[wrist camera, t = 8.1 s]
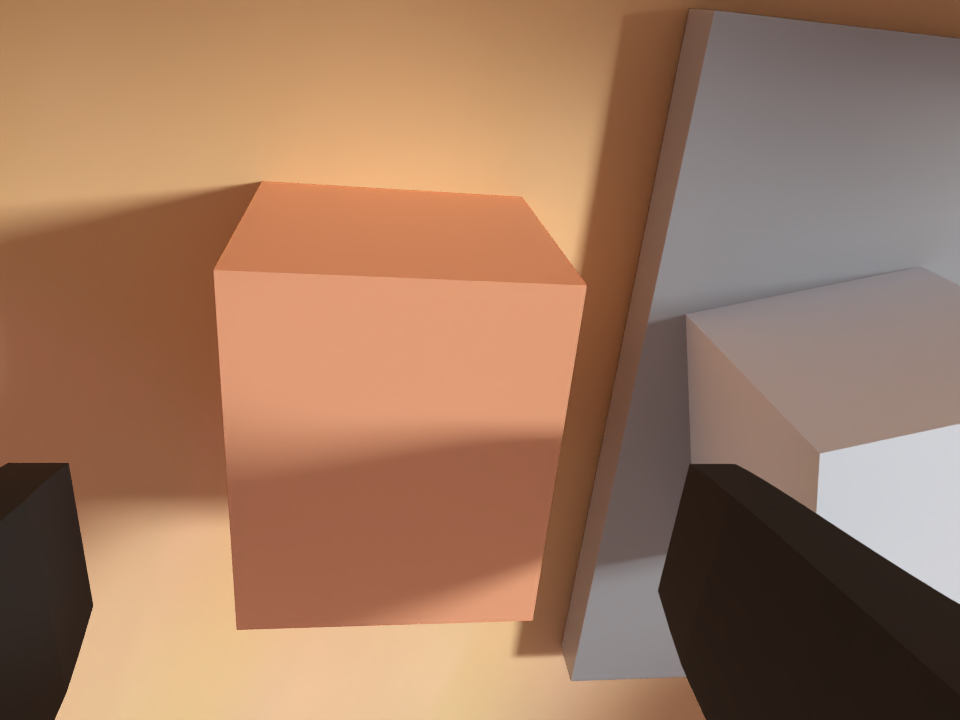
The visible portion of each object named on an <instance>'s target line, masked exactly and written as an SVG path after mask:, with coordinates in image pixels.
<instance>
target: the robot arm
mask: <svg viewBox="0 0 960 720" xmlns="http://www.w3.org/2000/svg"><path fill="white" fill-rule="evenodd" d="M658 593H659V596H660V600H661V603H662V606H663V610H664V613H665V616H666V620H667V623H668V626H669V630H670V633H671V636H672V639H673V642H674V645H675V648H676V651H677V654H678V657H679V660H680V663H681V665H682V668H683V670H684V672H685V675H686V677H687V679H688V681H689V683H690V686H691V688H692V690H693V692H694V694H695V697H696V699H697V701H698V703H699V705H700V707H701V710H702V712H703V714H704V716H705V718H706V720H960V604H959V603H957V602H955V601H954V600H952V599H950V598H948V597H947V596H945V595H943V594H942V593H940V592H938V591H937V590H935V589H934V588H932V587H930V586H929V585H927V584H926V583H924V582H922V581H921V580H919V579H917V578H916V577H914V576H913V575H911V574H909V573H908V572H906V571H905V570H903V569H901V568H900V567H898V566H897V565H895V564H894V563H892V562H890V561H889V560H887V559H886V558H884V557H883V556H881V555H879V554H878V553H876V552H875V551H873V550H872V549H870V548H869V547H867V546H865V545H864V544H862V543H861V542H859V541H858V540H856V539H855V538H853V537H852V536H850V535H849V534H847V533H846V532H844V531H842V530H841V529H839V528H838V527H836V526H835V525H833V524H832V523H830V522H829V521H827V520H826V519H824V518H823V517H821V516H820V515H818V514H816V513H815V512H813V511H812V510H810V509H809V508H807V507H806V506H804V505H803V504H801V503H800V502H798V501H797V500H795V499H793V498H792V497H790V496H789V495H787V494H786V493H784V492H783V491H781V490H779V489H778V488H776V487H775V486H773V485H771V484H770V483H768V482H767V481H765V480H763V479H762V478H760V477H758V476H757V475H755V474H753V473H751V472H750V471H748V470H746V469H744V468H742V467H740V466H738V465H737V464H689V468H688V472H687V476H686V480H685V484H684V488H683V492H682V496H681V500H680V504H679V508H678V512H677V515H676V519H675V523H674V527H673V531H672V535H671V539H670V543H669V547H668V551H667V555H666V559H665V563H664V567H663V571H662V575H661V579H660V583H659V587H658ZM92 608H93V602H92V596H91V590H90V584H89V579H88V573H87V567H86V561H85V556H84V550H83V544H82V538H81V533H80V527H79V521H78V515H77V509H76V504H75V498H74V492H73V486H72V481H71V475H70V469H69V463H8V464H6V465H4V466H2V467H0V720H55V718H56V715H57V713H58V711H59V708H60V706H61V704H62V702H63V699H64V697H65V695H66V692H67V689H68V686H69V683H70V680H71V677H72V674H73V671H74V668H75V664H76V661H77V658H78V655H79V652H80V649H81V645H82V642H83V638H84V635H85V632H86V628H87V625H88V622H89V618H90V615H91V611H92Z"/></svg>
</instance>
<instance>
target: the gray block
mask: <svg viewBox="0 0 960 720" xmlns="http://www.w3.org/2000/svg"><path fill="white" fill-rule="evenodd" d="M920 266H922V267H924V268H926V269H928V270H929V271H931V272H933V273H935V274H937V275H939V276H941V277H943V278H945V279H947V280H949V281H951V282H953V283H955V284H957V285H959V286H960V38H951V37H943V36H934V35H925V34H917V33H908V32H899V31H891V30H882V29H873V28H865V27H856V26H847V25H839V24H830V23H821V22H813V21H804V20H795V19H787V18H778V17H769V16H761V15H752V14H743V13H735V12H726V11H717V10H705V9H690V8H689V12H688V17H687V22H686V27H685V32H684V37H683V42H682V47H681V52H680V57H679V62H678V67H677V72H676V77H675V82H674V87H673V92H672V97H671V102H670V107H669V112H668V117H667V122H666V127H665V132H664V137H663V142H662V147H661V152H660V157H659V162H658V167H657V172H656V177H655V182H654V187H653V192H652V197H651V202H650V207H649V212H648V217H647V222H646V227H645V232H644V237H643V242H642V247H641V252H640V257H639V262H638V267H637V272H636V277H635V282H634V287H633V292H632V297H631V302H630V307H629V312H628V317H627V321H626V326H625V331H624V336H623V341H622V346H621V351H620V356H619V361H618V366H617V371H616V376H615V381H614V386H613V391H612V396H611V401H610V406H609V411H608V416H607V421H606V426H605V431H604V436H603V441H602V446H601V451H600V456H599V461H598V466H597V471H596V476H595V481H594V486H593V491H592V496H591V501H590V506H589V511H588V516H587V521H586V526H585V531H584V536H583V541H582V546H581V551H580V556H579V561H578V566H577V571H576V576H575V581H574V586H573V591H572V596H571V601H570V606H569V611H568V616H567V621H566V626H565V630H564V635H563V640H562V645H561V648H562V652H563V655H564V659H565V662H566V665H567V669H568V672H569V676H570V679H571V681H587V680H615V679H642V678H670V677H686V675H685V672H684V670H683V668H682V665H681V663H680V660H679V657H678V654H677V651H676V648H675V645H674V642H673V639H672V636H671V633H670V630H669V626H668V623H667V620H666V616H665V613H664V610H663V606H662V603H661V600H660V596H659V593H658V587H659V583H660V579H661V575H662V571H663V567H664V563H665V559H666V555H667V551H668V547H669V543H670V539H671V535H672V531H673V527H674V523H675V519H676V515H677V512H678V508H679V504H680V500H681V496H682V492H683V488H684V484H685V480H686V476H687V472H688V468H689V464H691V444H690V417H689V389H688V362H687V335H686V314H690V313H695V312H700V311H704V310H709V309H714V308H719V307H724V306H729V305H734V304H739V303H744V302H749V301H754V300H758V299H763V298H768V297H773V296H778V295H783V294H788V293H793V292H798V291H803V290H808V289H812V288H817V287H822V286H827V285H832V284H837V283H842V282H847V281H852V280H857V279H862V278H866V277H871V276H876V275H881V274H886V273H891V272H896V271H901V270H906V269H911V268H915V267H920Z"/></svg>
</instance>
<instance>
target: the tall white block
mask: <svg viewBox="0 0 960 720" xmlns="http://www.w3.org/2000/svg"><path fill="white" fill-rule="evenodd" d="M686 335H687V362H688V389H689V417H690V444H691V464H737V465H738V466H740V467H742V468H744V469H746V470H748V471H750V472H751V473H753V474H755V475H757V476H758V477H760V478H762V479H763V480H765V481H767V482H768V483H770V484H771V485H773V486H775V487H776V488H778V489H779V490H781V491H783V492H784V493H786V494H787V495H789V496H790V497H792V498H793V499H795V500H797V501H798V502H800V503H801V504H803V505H804V506H806V507H807V508H809V509H810V510H812V511H813V512H815V513H816V514H818V515H820V516H821V517H823V518H824V519H826V520H827V521H829V522H830V523H832V524H833V525H835V526H836V527H838V528H839V529H841V530H842V531H844V532H846V533H847V534H849V535H850V536H852V537H853V538H855V539H856V540H858V541H859V542H861V543H862V544H864V545H865V546H867V547H869V548H870V549H872V550H873V551H875V552H876V553H878V554H879V555H881V556H883V557H884V558H886V559H887V560H889V561H890V562H892V563H894V564H895V565H897V566H898V567H900V568H901V569H903V570H905V571H906V572H908V573H909V574H911V575H913V576H914V577H916V578H917V579H919V580H921V581H922V582H924V583H926V584H927V585H929V586H930V587H932V588H934V589H935V590H937V591H938V592H940V593H942V594H943V595H945V596H947V597H948V598H950V599H952V600H954V601H955V602H957V603H959V604H960V286H959V285H957V284H955V283H953V282H951V281H949V280H947V279H945V278H943V277H941V276H939V275H937V274H935V273H933V272H931V271H929V270H928V269H926V268H924V267H922V266H920V267H915V268H911V269H906V270H901V271H896V272H891V273H886V274H881V275H876V276H871V277H866V278H862V279H857V280H852V281H847V282H842V283H837V284H832V285H827V286H822V287H817V288H812V289H808V290H803V291H798V292H793V293H788V294H783V295H778V296H773V297H768V298H763V299H758V300H754V301H749V302H744V303H739V304H734V305H729V306H724V307H719V308H714V309H709V310H704V311H700V312H695V313H690V314H686Z"/></svg>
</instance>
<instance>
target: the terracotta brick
mask: <svg viewBox="0 0 960 720" xmlns="http://www.w3.org/2000/svg"><path fill="white" fill-rule="evenodd" d="M213 273H214V288H215V303H216V319H217V334H218V349H219V365H220V380H221V396H222V411H223V426H224V442H225V457H226V472H227V488H228V503H229V519H230V534H231V549H232V565H233V580H234V595H235V611H236V626H237V630H246V629H278V628H309V627H341V626H373V625H405V624H437V623H469V622H501V621H533V615H534V609H535V603H536V597H537V591H538V585H539V578H540V572H541V566H542V560H543V554H544V548H545V541H546V535H547V529H548V523H549V517H550V511H551V504H552V498H553V492H554V486H555V480H556V474H557V467H558V461H559V455H560V449H561V443H562V437H563V430H564V424H565V418H566V412H567V406H568V400H569V394H570V387H571V381H572V375H573V369H574V363H575V357H576V350H577V344H578V338H579V332H580V326H581V320H582V313H583V307H584V301H585V295H586V289H587V285H586V283H585V282H584V281H583V279H582V278H581V277H580V275H579V274H578V273H577V271H576V270H575V268H574V267H573V266H572V264H571V263H570V262H569V260H568V259H567V257H566V256H565V255H564V253H563V252H562V251H561V249H560V248H559V247H558V245H557V244H556V242H555V241H554V240H553V238H552V237H551V236H550V234H549V233H548V232H547V230H546V229H545V227H544V226H543V225H542V223H541V222H540V221H539V219H538V218H537V217H536V215H535V214H534V212H533V211H532V210H531V208H530V207H529V206H528V204H527V203H526V202H525V200H524V199H523V197H515V196H498V195H482V194H465V193H449V192H432V191H415V190H399V189H382V188H366V187H349V186H333V185H316V184H299V183H283V182H266V181H262V182H261V184H260V186H259V188H258V190H257V191H256V193H255V195H254V197H253V199H252V201H251V202H250V204H249V206H248V208H247V210H246V211H245V213H244V215H243V217H242V219H241V221H240V222H239V224H238V226H237V228H236V230H235V231H234V233H233V235H232V237H231V239H230V241H229V242H228V244H227V246H226V248H225V250H224V252H223V253H222V255H221V257H220V259H219V261H218V262H217V264H216V266H215V268H214V270H213Z"/></svg>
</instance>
